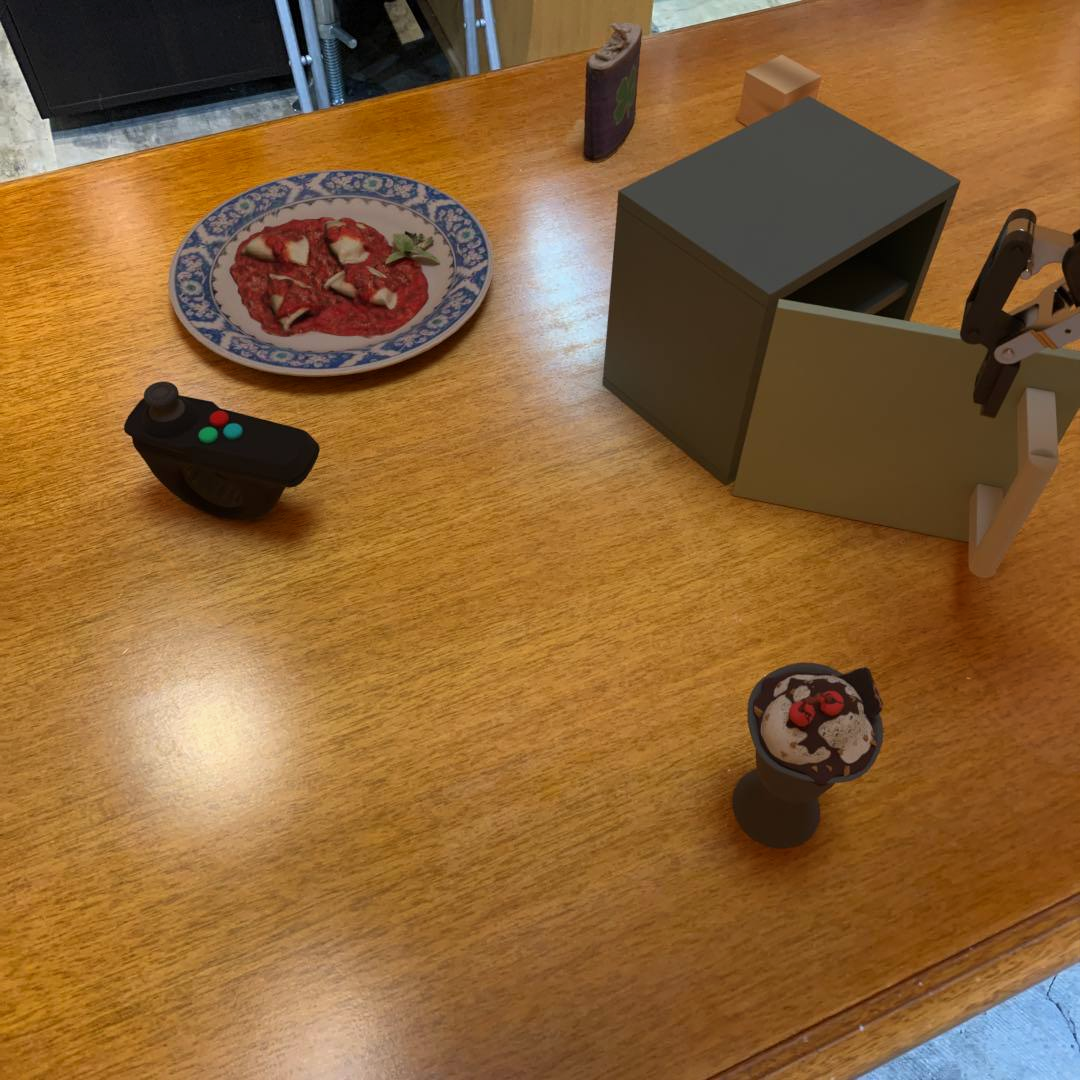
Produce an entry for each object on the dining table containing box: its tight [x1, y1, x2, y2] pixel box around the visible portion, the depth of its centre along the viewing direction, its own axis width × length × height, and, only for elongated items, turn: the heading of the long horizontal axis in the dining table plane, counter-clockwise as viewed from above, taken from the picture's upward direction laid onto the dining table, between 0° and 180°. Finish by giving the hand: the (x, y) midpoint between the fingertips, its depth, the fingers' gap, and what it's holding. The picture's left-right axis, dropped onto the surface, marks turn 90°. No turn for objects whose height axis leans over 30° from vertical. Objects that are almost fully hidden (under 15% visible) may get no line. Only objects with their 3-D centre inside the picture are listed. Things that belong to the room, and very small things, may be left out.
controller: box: [123, 381, 321, 522], centre depth 70 cm, size 4×12×10 cm, turn 73°
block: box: [737, 54, 822, 127], centre depth 102 cm, size 5×5×5 cm
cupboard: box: [601, 96, 962, 487], centre depth 76 cm, size 13×18×17 cm
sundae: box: [731, 661, 884, 850], centre depth 55 cm, size 7×7×15 cm
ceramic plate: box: [167, 169, 494, 378], centre depth 87 cm, size 26×26×3 cm
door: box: [732, 299, 1080, 579], centre depth 66 cm, size 7×18×17 cm, turn 76°
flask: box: [582, 21, 643, 163], centre depth 98 cm, size 9×3×11 cm, turn 155°
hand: (1076, 428), depth 54 cm, fingers open, 8 cm apart
